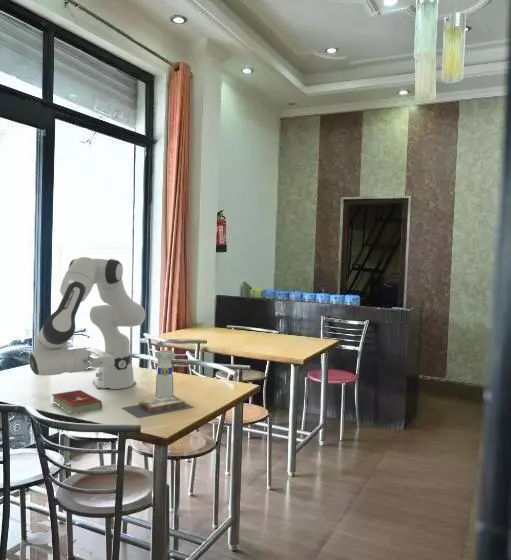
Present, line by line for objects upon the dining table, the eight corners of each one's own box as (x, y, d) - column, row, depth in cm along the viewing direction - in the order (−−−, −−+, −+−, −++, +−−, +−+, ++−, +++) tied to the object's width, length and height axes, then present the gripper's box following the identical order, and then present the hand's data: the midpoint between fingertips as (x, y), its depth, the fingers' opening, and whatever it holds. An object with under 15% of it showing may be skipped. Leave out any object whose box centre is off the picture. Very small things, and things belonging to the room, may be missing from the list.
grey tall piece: (175, 398, 208) (175, 340, 207) (154, 399, 206) (155, 340, 206) (175, 393, 216) (175, 337, 215) (155, 393, 214) (156, 337, 214)
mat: (120, 408, 191) (120, 407, 191) (174, 399, 206) (174, 398, 206) (138, 419, 179) (138, 418, 179) (194, 408, 194) (194, 407, 194)
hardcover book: (80, 398, 206) (81, 389, 206) (101, 410, 191) (101, 399, 190) (52, 403, 198) (52, 393, 198) (71, 416, 183) (71, 405, 183)
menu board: (139, 401, 193) (172, 395, 202) (139, 407, 193) (172, 401, 202) (150, 407, 185) (184, 401, 194) (150, 413, 185) (184, 406, 194)
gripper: (89, 355, 165) (128, 351, 173) (70, 346, 181) (106, 343, 189) (89, 373, 165) (128, 368, 173) (70, 363, 181) (106, 359, 189)
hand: (117, 355), depth 181 cm, fingers closed
